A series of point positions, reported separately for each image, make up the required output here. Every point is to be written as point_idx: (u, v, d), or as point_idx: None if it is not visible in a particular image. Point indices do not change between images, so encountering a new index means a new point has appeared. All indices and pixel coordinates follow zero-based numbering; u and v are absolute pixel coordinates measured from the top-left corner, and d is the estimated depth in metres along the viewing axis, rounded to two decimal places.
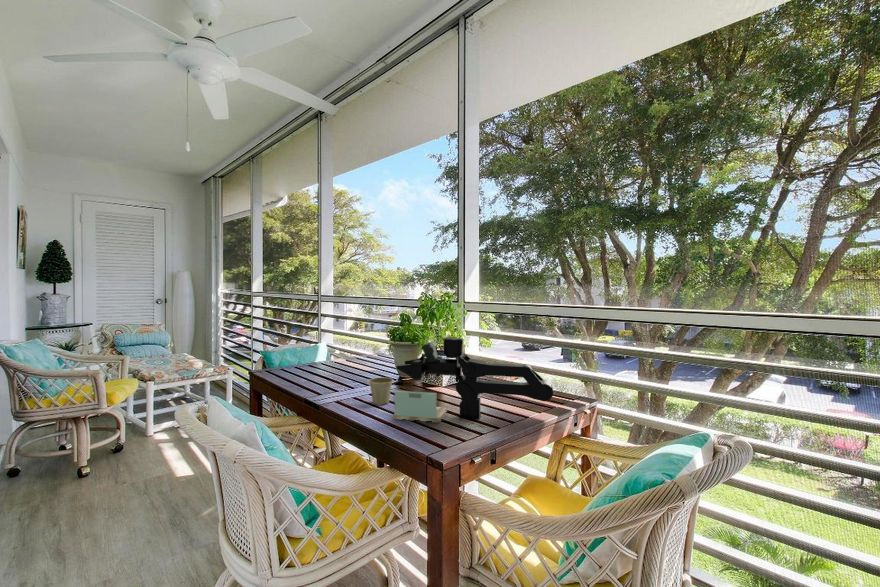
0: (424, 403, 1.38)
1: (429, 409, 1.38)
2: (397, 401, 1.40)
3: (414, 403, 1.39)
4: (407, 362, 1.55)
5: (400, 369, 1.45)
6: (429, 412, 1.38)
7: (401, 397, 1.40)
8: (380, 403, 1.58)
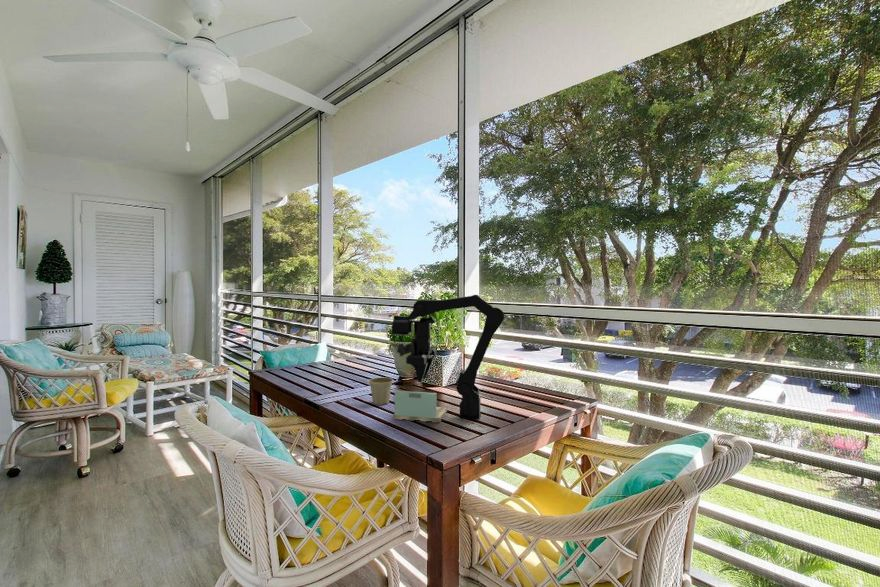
0: (424, 403, 1.38)
1: (429, 409, 1.38)
2: (397, 401, 1.40)
3: (414, 403, 1.39)
4: (423, 375, 1.49)
5: (420, 377, 1.44)
6: (429, 412, 1.38)
7: (401, 397, 1.40)
8: (380, 403, 1.58)
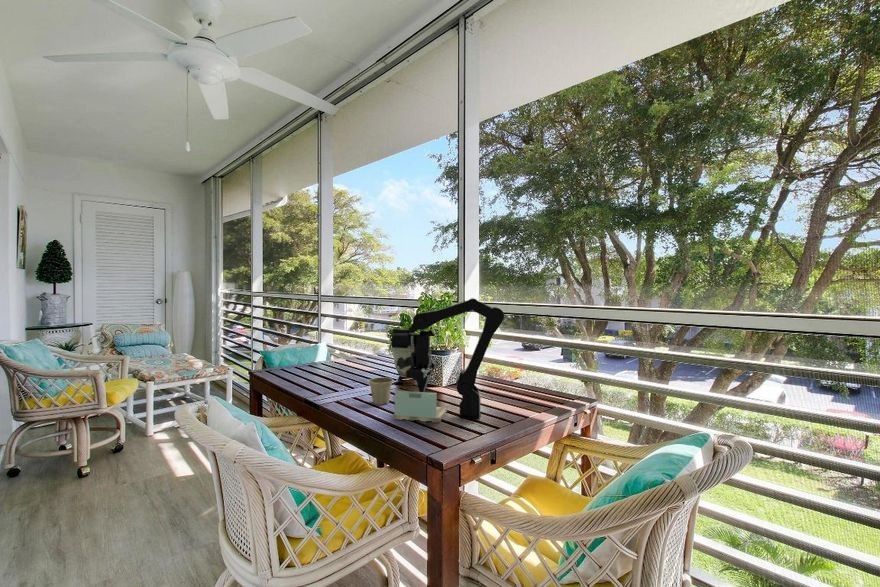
0: (424, 403, 1.38)
1: (429, 409, 1.38)
2: (397, 401, 1.40)
3: (414, 403, 1.39)
4: None
5: (422, 389, 1.46)
6: (429, 412, 1.38)
7: (401, 397, 1.40)
8: (380, 403, 1.58)
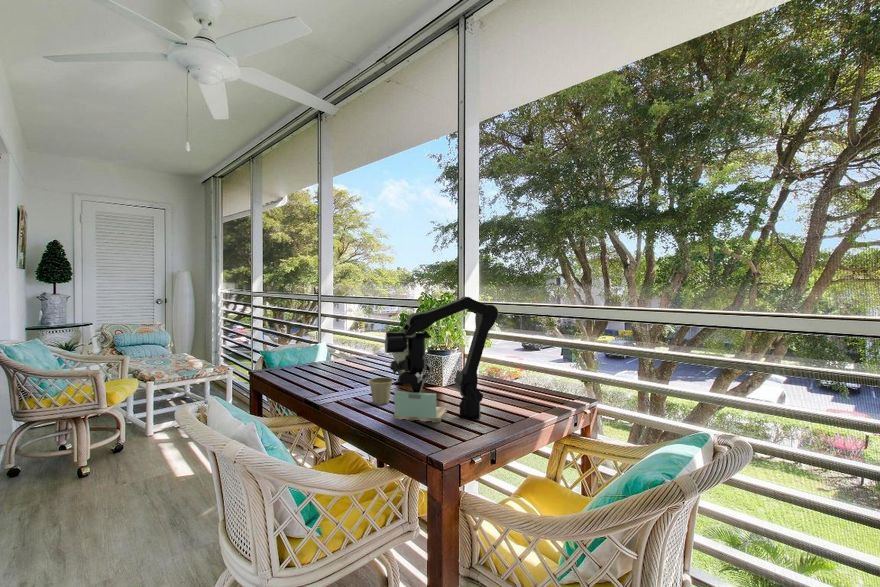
0: (424, 404, 1.38)
1: (429, 410, 1.38)
2: (397, 402, 1.40)
3: (414, 404, 1.39)
4: None
5: None
6: (429, 412, 1.38)
7: (401, 398, 1.39)
8: (380, 403, 1.58)
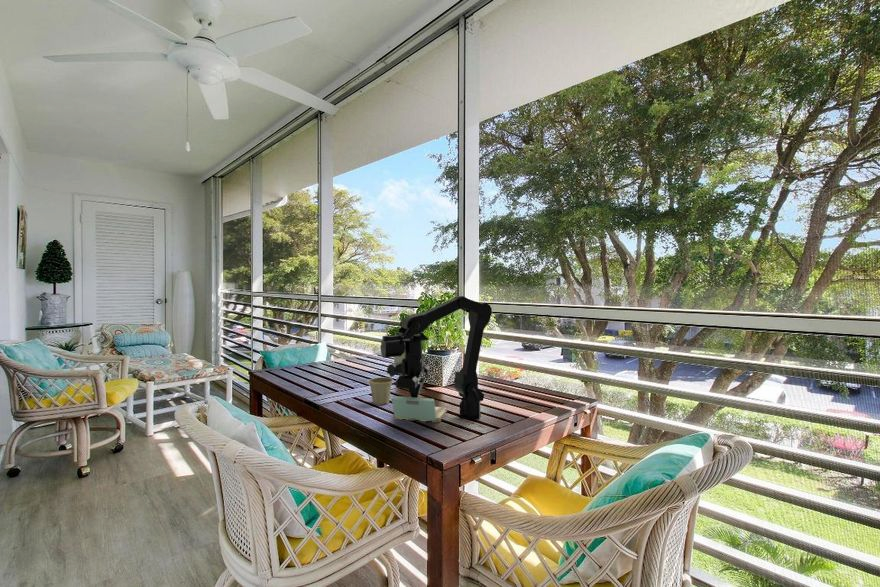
0: (422, 408, 1.36)
1: (428, 413, 1.37)
2: (395, 406, 1.38)
3: (412, 408, 1.37)
4: None
5: (415, 397, 1.37)
6: (429, 415, 1.37)
7: (399, 403, 1.37)
8: (380, 403, 1.58)
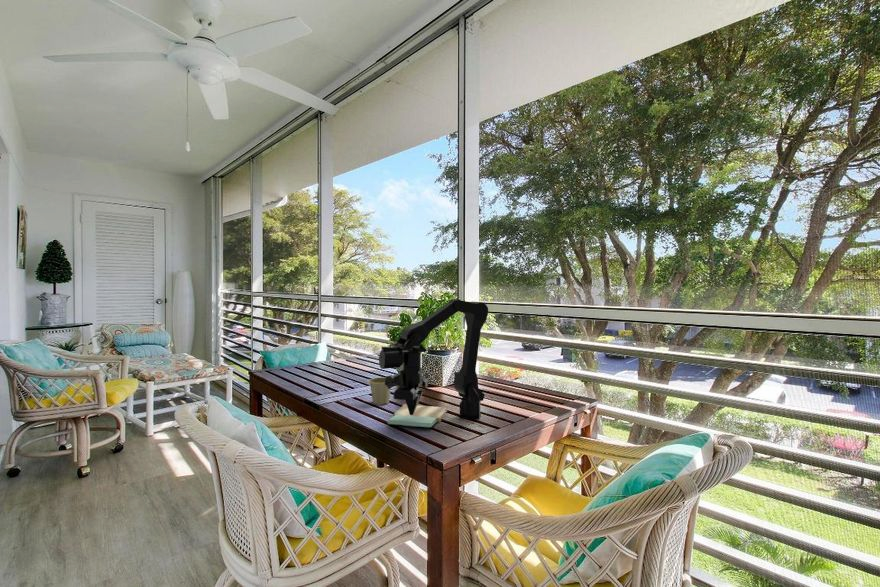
0: None
1: None
2: None
3: None
4: None
5: (412, 410, 1.34)
6: None
7: None
8: (380, 403, 1.58)
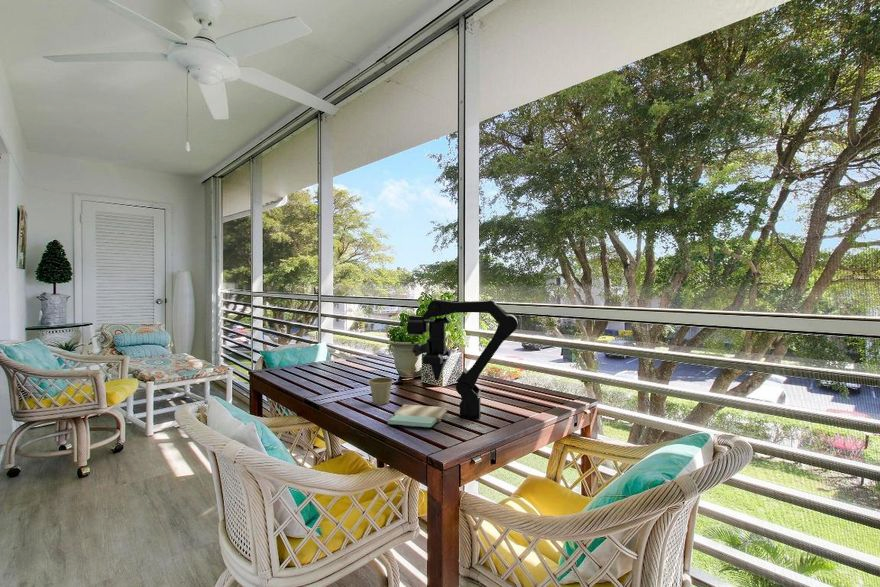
0: None
1: None
2: None
3: None
4: None
5: (437, 376, 1.47)
6: None
7: None
8: (380, 403, 1.58)
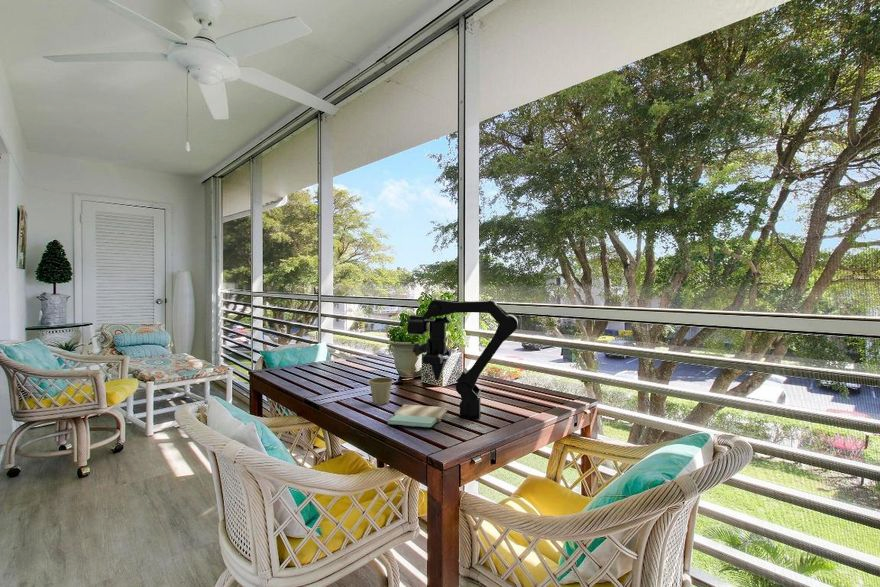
0: None
1: None
2: None
3: None
4: None
5: (438, 375, 1.47)
6: None
7: None
8: (380, 403, 1.58)
